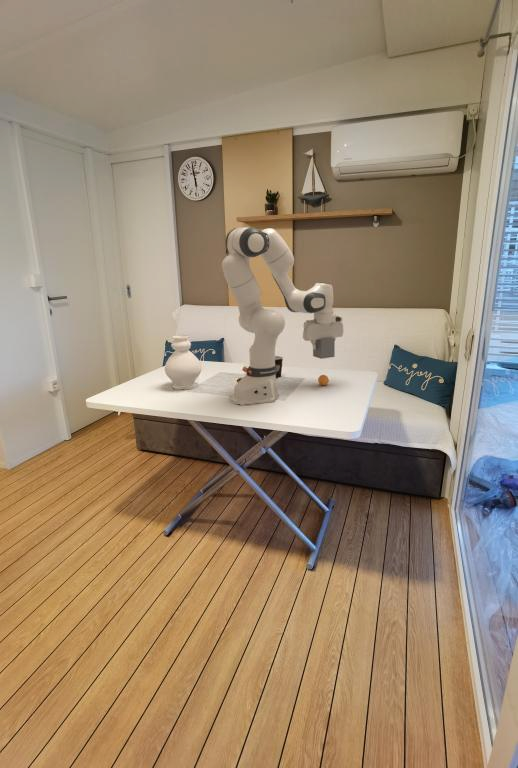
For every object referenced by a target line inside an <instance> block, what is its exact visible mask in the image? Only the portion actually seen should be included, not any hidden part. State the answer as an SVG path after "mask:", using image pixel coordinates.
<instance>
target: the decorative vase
mask: <svg viewBox="0 0 518 768" xmlns="http://www.w3.org/2000/svg"><path fill="white" fill-rule="evenodd" d="M188 338H189V335H187V334H181V335H173V336H172V339H173V341H172V342H171V344H170V346H171V348H172V350H174V351H173V352H172V354H171V355H170V356H169V357H168V359H167V360H166V362H165V365H164V372H165V375H166V376H167V378H169V379H170V381H172V383H173V384H172V386H171V388H172V387H173V388H174V389H173V388H172V389H173V390H177V389H186V390H192V389H194V388H196V387H198V385H199V384H198V383H197V382H196V380H198V377H199V376H200V374H201V373H202V370H203V369H202V367H203V366H202V362H201V361H200V360H199V358H198V357H197V356H196V355H195V354H194V353H193V352H192V351H190V350H189V349H190V347H191V346H192V342H191V341H190V340H189V339H188Z"/></svg>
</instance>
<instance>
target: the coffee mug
mask: <svg viewBox="0 0 518 768" xmlns="http://www.w3.org/2000/svg"><path fill="white" fill-rule="evenodd" d="M283 359H284V358H283V356H279V355H275V365H276V379H278V377H279V378H281V377H282V369H283V361H284V360H283Z"/></svg>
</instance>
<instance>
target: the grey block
mask: <svg viewBox="0 0 518 768" xmlns="http://www.w3.org/2000/svg"><path fill="white" fill-rule="evenodd" d="M335 341H336V339H335V338H324V339H319V340H316V342H315V344H316V345H317V346H318V347H317V348H318V349H315V350H314V349H313V348H312V356H313V357H315V358H318V359H321V360H322V359H329V358H335V351H336V350H335V349H336V348H335Z"/></svg>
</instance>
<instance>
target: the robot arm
mask: <svg viewBox="0 0 518 768" xmlns="http://www.w3.org/2000/svg"><path fill="white" fill-rule="evenodd" d="M224 242H225V254H226V256H225V258H224V259H223V260H222V262H221V268H222V272H223V273H222V274H223V276H224V278H225V281H226V283H227V285H228V287H229V289H230V291H231V294H232V295H233V298H234V299H235V302H236V304H237V307H238V311H239V316H238V323H239V326H240V327H241V328H242V329H243V330H245V331H246V332H248V333H250V334H251V333H252V334H254V341H253V344H252V345H251V346H250V348H249V351H248V352H249V366H248V367H246V366H243V367H242V371H243V372H245V374H246V375H244V376H243V378H241V379H240V380H239V381H238V382H236V384H235V385H234V390H233V393H232V394H230V395H228V398H229V401H230V400H231V401H232V402H231V401H230V402H231V403H233V402H234V403H233V404H235V403H236V404H235V405H237V404H240V405H239V406H246V405H245V404H250V405H256V404H255V403H259V404H264V403H265V404H266V403H274V402H275V401H276V400H277V399H278V398H279V397H280V392H279V389H278V388H279V387H278V384H277V383H278V382H277V378H276V365H275V356H276V345H277V341H278V338H279V336H280V334H281V333H282V332H283V331H284V329H285V326H286V320H285V318H284V316H283V315H282V314H281V313H280V312H277V311H275V310H274V309H268V308H264V307H263V306H262V303H261V296H262V290H261V287H260V286H259V282H258V281H257V279H256V277H255V274H254V272H253V270H252V268H251V266H250V258H257V257H259V256H261V257H262V260H264V262H265V263H266V265H267V266H268V268H269V270H270V272H271V275H272V278H273V279H274V281H275V283H276V285H277V287H278V289H279V291H280V292H281V294H282V296H283V299H284V303H285V307H286V308H287V309H288V311H290V312H292V313H303V314H313V319H308V320H306V321H304V322H303V332H302V339H303V340H304V341H305V342H310V343H311V345H312V350H313V349H314V350H315V349H318V348H317V347H318V346H317V345H316V344H315V342H316V340H319V339H324V338H335V340H336V338H342V336H343V335H344V324H343V319H344V318H343V317H342V316H339V315H336V314H334V309H333V305H334V288H333V286H332V284H330V283H329V282H320V281H319V282H316V283H315V284H314V285H313V286H312V287H310V288H309V289H308V290H300V289H298V288H296V287H295V285H294V283H293V281H292V279H291V278H290V276H289V272H290V271H291V270H292V269H293V267H294V264H295V256H294V255H293V252H292V250H291V249H290V247H289V246H288V244H287V243H286V241H285V240H284V239H283V237H282V236H281V235H280V234H279V232H278V231H276V229H274V228H272V227H271V228H265V229H262V230H260V229H259V228H256V227H248V226H242V227H236V228H233V229H231V230H230V231H228V232H227V234H226V237H225V241H224Z"/></svg>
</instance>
